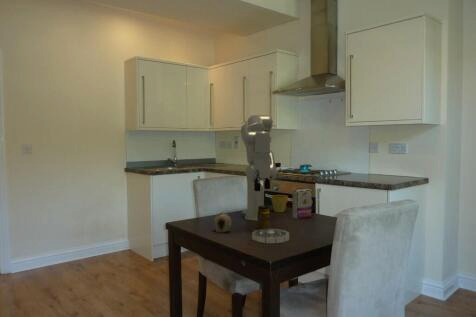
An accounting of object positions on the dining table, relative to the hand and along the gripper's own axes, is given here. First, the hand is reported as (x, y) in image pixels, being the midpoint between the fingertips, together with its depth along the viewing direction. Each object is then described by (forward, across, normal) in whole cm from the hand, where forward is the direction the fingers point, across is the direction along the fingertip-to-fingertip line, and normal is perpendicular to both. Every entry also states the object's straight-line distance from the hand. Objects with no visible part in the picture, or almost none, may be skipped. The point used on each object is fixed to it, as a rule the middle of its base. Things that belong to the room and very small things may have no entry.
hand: (262, 189), depth 191 cm
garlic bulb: (+21, +14, -14) cm, 29 cm away
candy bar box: (+20, -39, +4) cm, 44 cm away
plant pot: (+20, -48, -16) cm, 55 cm away
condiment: (+21, 0, 0) cm, 21 cm away
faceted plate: (+20, +12, +12) cm, 26 cm away
